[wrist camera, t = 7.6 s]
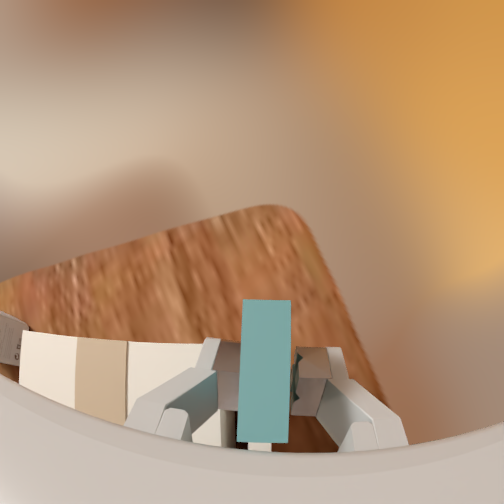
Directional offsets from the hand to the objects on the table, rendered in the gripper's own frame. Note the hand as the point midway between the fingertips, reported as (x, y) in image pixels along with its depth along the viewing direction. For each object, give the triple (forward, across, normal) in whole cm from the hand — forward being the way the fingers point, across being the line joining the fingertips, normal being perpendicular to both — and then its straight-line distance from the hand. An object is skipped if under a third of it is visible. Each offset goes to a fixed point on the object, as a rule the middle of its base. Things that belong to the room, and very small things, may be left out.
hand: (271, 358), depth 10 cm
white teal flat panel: (+1, 0, +13) cm, 13 cm away
